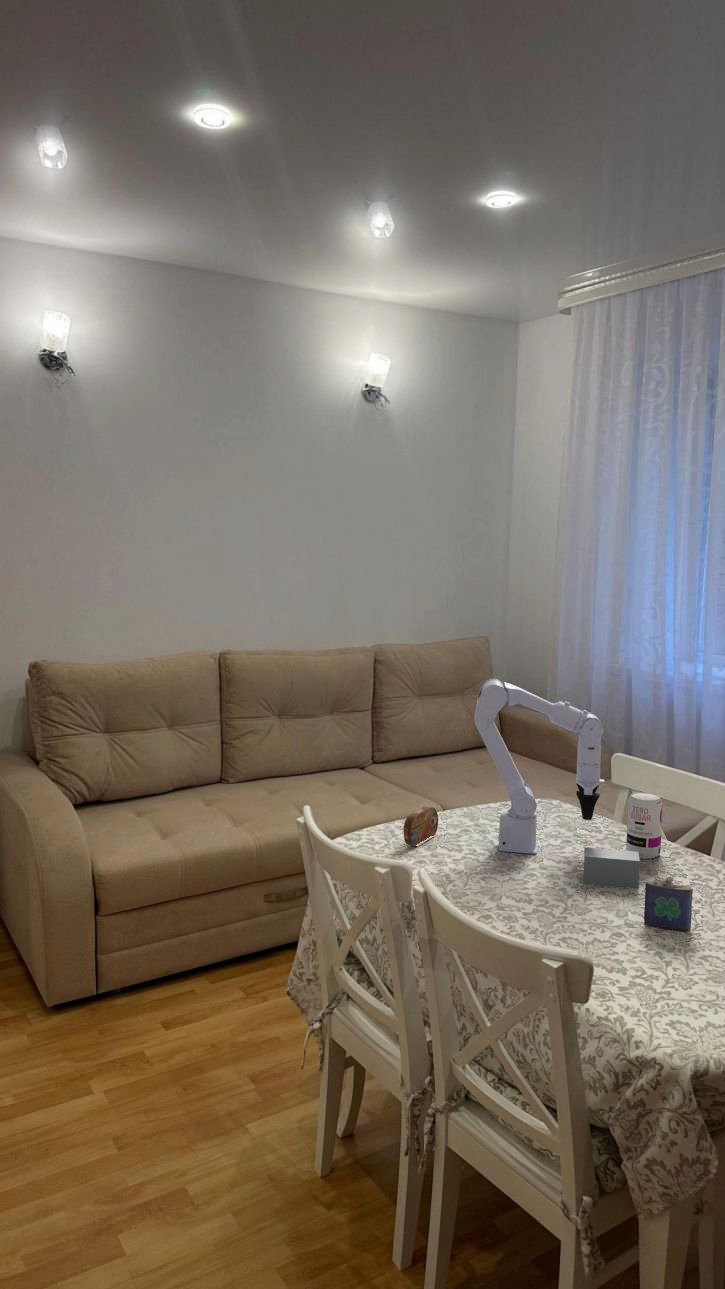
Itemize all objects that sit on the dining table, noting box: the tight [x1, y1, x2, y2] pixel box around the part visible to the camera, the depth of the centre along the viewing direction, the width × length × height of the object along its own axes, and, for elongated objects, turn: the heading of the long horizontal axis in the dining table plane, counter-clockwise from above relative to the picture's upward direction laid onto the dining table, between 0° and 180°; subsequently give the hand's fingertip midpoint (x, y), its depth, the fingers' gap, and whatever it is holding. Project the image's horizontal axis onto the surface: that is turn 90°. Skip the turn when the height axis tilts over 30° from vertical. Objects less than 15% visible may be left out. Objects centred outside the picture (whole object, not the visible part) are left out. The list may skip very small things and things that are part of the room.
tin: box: [403, 806, 439, 847], centre depth 237 cm, size 15×3×8 cm, turn 148°
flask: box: [643, 876, 694, 933], centre depth 186 cm, size 9×3×11 cm, turn 68°
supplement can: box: [625, 791, 663, 860], centre depth 228 cm, size 8×8×15 cm
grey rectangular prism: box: [583, 847, 641, 889], centre depth 211 cm, size 12×6×6 cm, turn 77°
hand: (587, 814), depth 230 cm, fingers open, 7 cm apart
